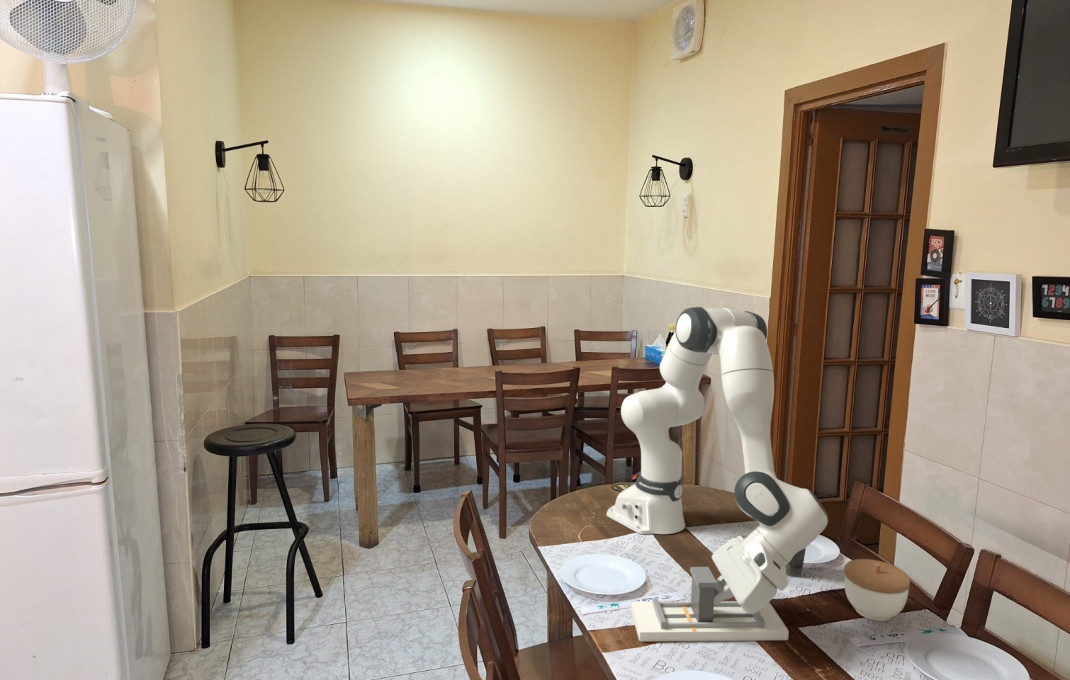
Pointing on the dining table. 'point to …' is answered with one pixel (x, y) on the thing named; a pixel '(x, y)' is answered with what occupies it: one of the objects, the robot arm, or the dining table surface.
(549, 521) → the dining table surface
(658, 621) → the fader console
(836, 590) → the dining table surface
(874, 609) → the lidded bowl
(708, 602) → the fader tab
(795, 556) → the beverage cup
